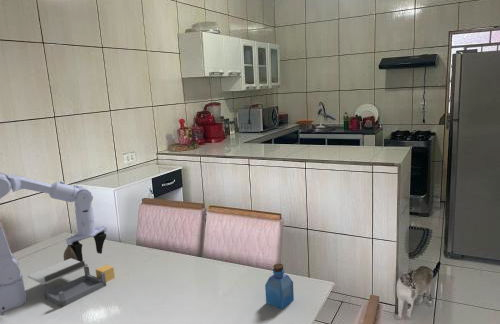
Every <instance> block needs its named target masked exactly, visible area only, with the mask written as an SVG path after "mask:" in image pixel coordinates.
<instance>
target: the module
mask: <svg viewBox="0 0 500 324" xmlns="http://www.w3.org/2000/svg"><path fill="white" fill-rule="evenodd" d="M114 270H115V269H114V266H112V265H109V264H104V265H102V266H100V267H98V268H95V273H96V274H95V275H96V276H95V277H97V278H100V273H102V272H103V273H105V280H106V283H107V282H110V281H111V280H113V279H115V277H116V276H115V271H114Z"/></svg>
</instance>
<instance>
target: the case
mask: <svg viewBox="0 0 500 324" xmlns="http://www.w3.org/2000/svg"><path fill="white" fill-rule="evenodd" d="M83 270H84V271H83V273H84V275H81V276H80V277H77V278H75V279H73V280H71V281H69V282H66V283H64V284H62V285H59V286H57V287H56V288H53V289H50V287H49V283H47V284H45V285H43V284H42V286H43V287H42V289H43V294H44V299H46V300H48V301H49V302H51V303H53V304H54V305H57V306H58V307H61V308H64V307H67V306H68V305H71V304H73V303H75V302H76V301H79V300H80V299H83V298H84V297H87V296H89V295H91V294H92V293H94V292H97V291H99V290H101V289H103V288H104V287H106V286H107V282H106V280H105V273H103V272H102V273H100V278H97V276H94V275H92V274H91V273H90V267H89V266H86V267H84V268H83Z"/></svg>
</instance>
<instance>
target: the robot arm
mask: <svg viewBox="0 0 500 324" xmlns="http://www.w3.org/2000/svg"><path fill="white" fill-rule="evenodd" d="M11 190H12V193H14V192H17V191H21V190H29V191H34V192H40V193H45V194H48V195H49V197H50V198H51V199H55V200H59V201H64V202H67V203H68V202H69V203H74V208H75V209H74V212H75V220H76V227H77V233H76V234H74V235H72V236H70V237H68V238H65V241H66V245H67V246H68V245H69V246H70V247H71V248H72V250H73V251H74V253H75V255H76V257H77V260H78V261H80V262H81V261H84V260H83V259H84V258H83V244H82V243H80V241H83V240H87V239H88V238H94V239H93V240H94V243H95V249H96V253H97V254H102V253H103V248H104V243H105V240H106V238H107V231H108V229H107V226H104V225H103V226H100V227H99V226H98V227H96V226H95V217H94V209H93V206H92V204H93V203H92V201H93V199H94V196H93V195H92V192H90V190H88V189H87V188H86V187H83V186H79V185H78V184H76V185H73V184H67V183H66V182H65V181H63V180H60V182H59V181H55V182H53V183H47V182H44V181H40V180H36V179H32V178H29V177H25V176H22V175H17V174H13V173H7V174H6V173H4V172H0V200H1V199H2V198H3V197H5V196H7V195H8V194H9V193H10V191H11ZM19 267H20V265H19V261H18V259H17V258H16V257H15V256H13V254H12V251H11V249H10V246H9V243H8V240H7V237H6V235H5V233H4V230H3V227H2V224H1V223H0V316H5V314H4V313H5V312H6V311H9V310H11V309H15V308H17V307H19V306H22V305H24V304H25V303H26V302H27V294H26V289H25V283H24V278H23V274H22V273H21V269H20V268H19Z"/></svg>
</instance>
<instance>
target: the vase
mask: <svg viewBox="0 0 500 324" xmlns="http://www.w3.org/2000/svg"><path fill="white" fill-rule="evenodd" d="M70 258H72V259H74V260H77V257H76V255H75V253H74V251H73V250H72V248H71V247H70V246H69V245H68V244H67V247H66V249H64V252H63V261H65V260H68V259H70ZM77 261H78V260H77Z"/></svg>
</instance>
